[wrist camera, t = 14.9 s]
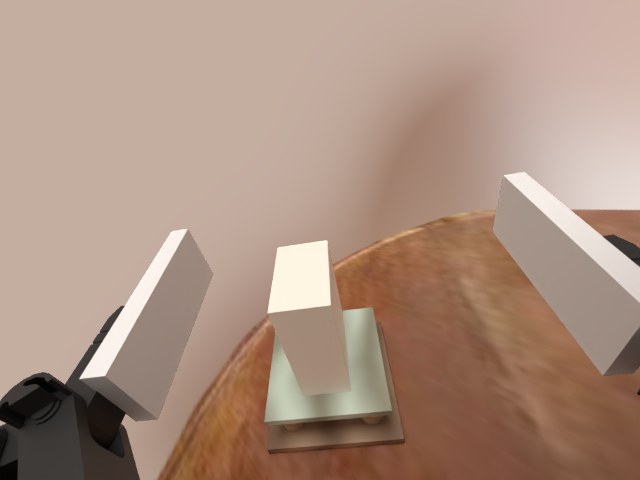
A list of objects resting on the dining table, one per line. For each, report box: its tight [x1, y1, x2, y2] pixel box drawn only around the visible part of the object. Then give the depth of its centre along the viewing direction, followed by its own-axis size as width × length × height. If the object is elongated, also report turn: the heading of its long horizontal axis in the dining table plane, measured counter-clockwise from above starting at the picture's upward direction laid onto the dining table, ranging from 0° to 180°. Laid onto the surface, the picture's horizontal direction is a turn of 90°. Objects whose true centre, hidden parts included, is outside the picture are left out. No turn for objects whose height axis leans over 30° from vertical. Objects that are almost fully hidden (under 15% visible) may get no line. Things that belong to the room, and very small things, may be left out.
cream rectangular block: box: [268, 240, 351, 396], centre depth 34 cm, size 6×9×15 cm, turn 1°
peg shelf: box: [264, 307, 404, 453], centre depth 41 cm, size 16×16×6 cm
